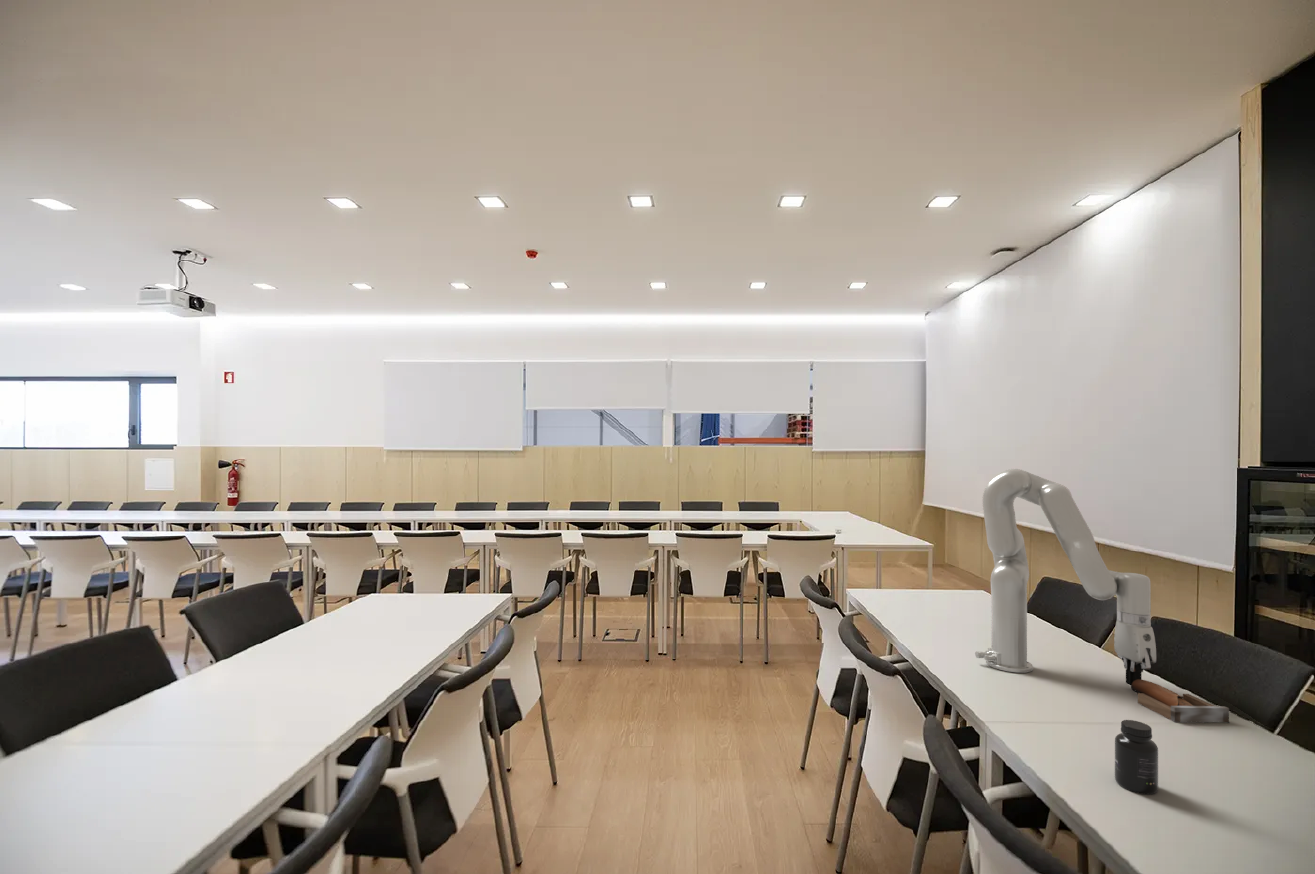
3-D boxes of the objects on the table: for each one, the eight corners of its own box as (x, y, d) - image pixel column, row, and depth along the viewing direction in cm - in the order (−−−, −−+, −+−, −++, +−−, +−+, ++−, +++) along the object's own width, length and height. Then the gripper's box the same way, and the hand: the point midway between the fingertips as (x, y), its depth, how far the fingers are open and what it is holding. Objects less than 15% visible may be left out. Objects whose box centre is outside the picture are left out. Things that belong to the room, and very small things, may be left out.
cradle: (1174, 722, 154) (1174, 707, 154) (1137, 702, 166) (1137, 689, 166) (1229, 722, 154) (1228, 708, 154) (1188, 703, 166) (1188, 689, 166)
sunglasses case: (1213, 718, 156) (1198, 694, 156) (1186, 732, 156) (1171, 707, 157) (1163, 691, 174) (1149, 669, 174) (1139, 703, 174) (1126, 681, 175)
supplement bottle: (1105, 777, 127) (1105, 717, 127) (1137, 776, 128) (1137, 716, 128) (1134, 796, 120) (1134, 732, 120) (1167, 795, 121) (1167, 731, 121)
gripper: (1168, 625, 169) (1169, 695, 168) (1126, 611, 184) (1126, 675, 183) (1140, 625, 169) (1141, 694, 168) (1101, 611, 184) (1101, 674, 183)
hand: (1133, 684), depth 176 cm, fingers closed
